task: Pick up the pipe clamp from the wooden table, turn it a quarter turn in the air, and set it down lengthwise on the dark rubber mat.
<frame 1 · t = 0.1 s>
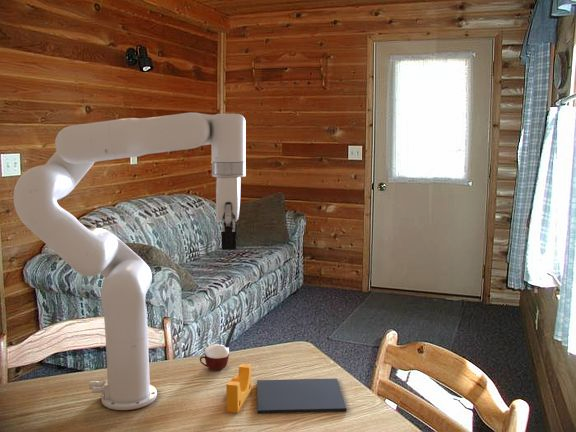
hand: (229, 244, 141), 37 cm above the table, tool pointing down, fingers open, 9 cm apart
cocoa: (218, 368, 164), on the table
mat: (299, 396, 147), on the table
pipe clamp: (236, 400, 145), on the table
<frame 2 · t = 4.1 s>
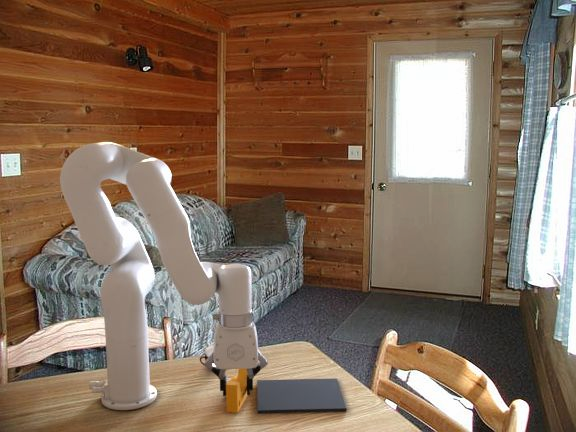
hand: (236, 392, 145), 2 cm above the table, tool pointing down, fingers closed on pipe clamp, 4 cm apart
pipe clamp: (235, 400, 145), on the table, touching gripper
everything else where it was.
when the fingers open (3 cm above the table, at t = 12.2 s): pipe clamp stays where it is, resting on mat.
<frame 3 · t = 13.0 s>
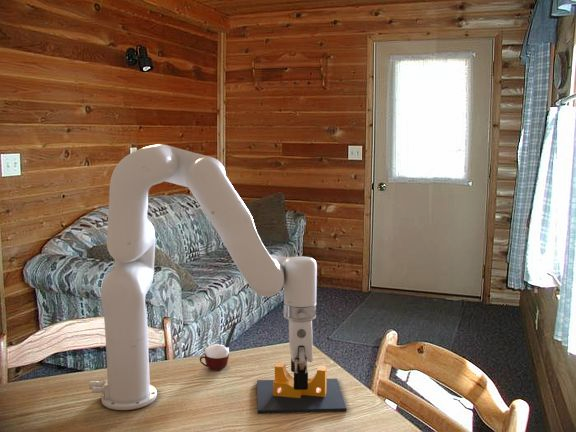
hand: (299, 380, 146), 4 cm above the table, tool pointing down, fingers open, 9 cm apart
pipe clamp: (299, 394, 147), point 1 cm above the table, touching mat
everything else where it was.
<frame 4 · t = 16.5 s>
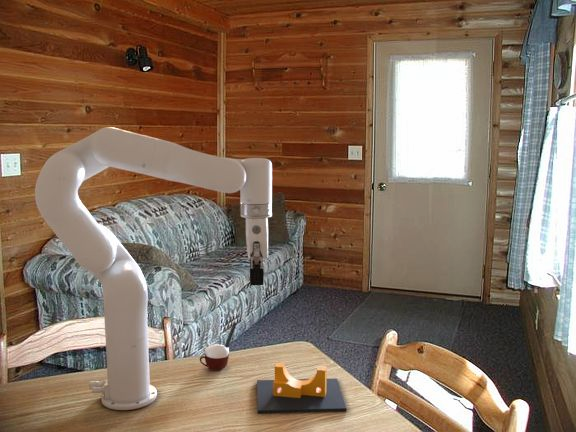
hand: (256, 279, 151), 26 cm above the table, tool pointing down, fingers open, 9 cm apart
nothing on the table moved.
at the end: pipe clamp inside the target area (0.2 cm from its centre), point 0.6 cm above the table; pipe clamp tilted 0°; the gripper is holding nothing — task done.
